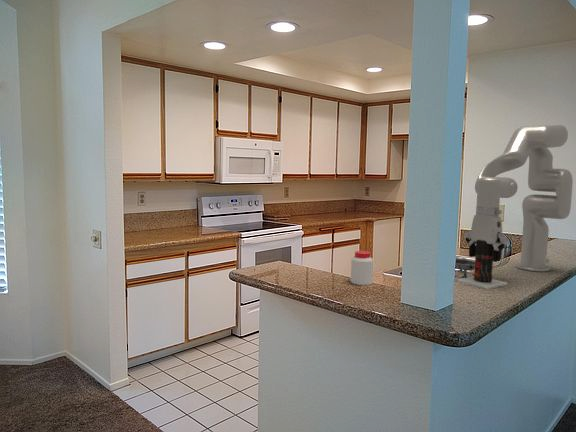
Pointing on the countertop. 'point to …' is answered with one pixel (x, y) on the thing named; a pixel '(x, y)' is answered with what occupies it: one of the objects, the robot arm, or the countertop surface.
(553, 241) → the countertop surface
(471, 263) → the ring stand
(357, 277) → the pill bottle
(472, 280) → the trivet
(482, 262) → the deodorant
